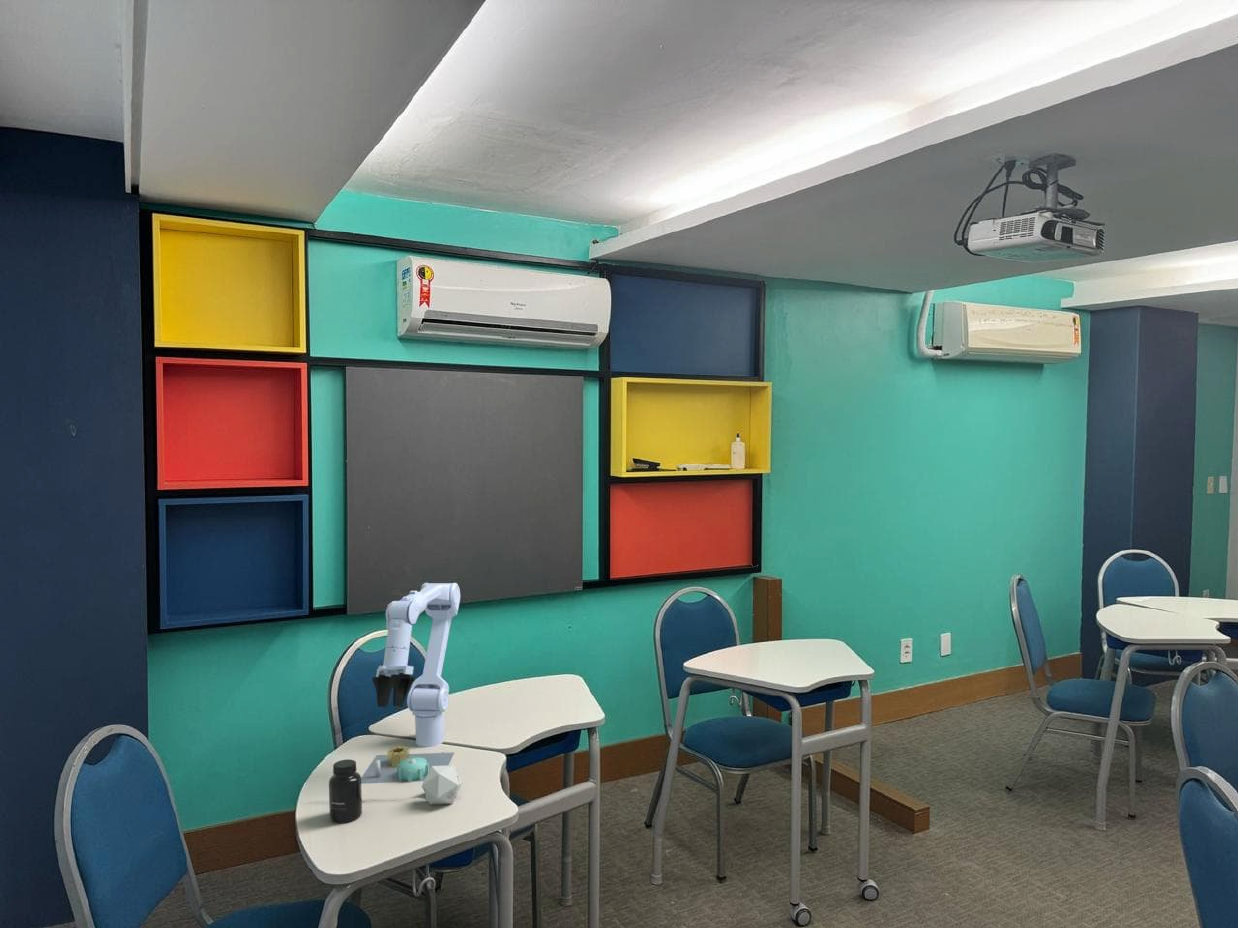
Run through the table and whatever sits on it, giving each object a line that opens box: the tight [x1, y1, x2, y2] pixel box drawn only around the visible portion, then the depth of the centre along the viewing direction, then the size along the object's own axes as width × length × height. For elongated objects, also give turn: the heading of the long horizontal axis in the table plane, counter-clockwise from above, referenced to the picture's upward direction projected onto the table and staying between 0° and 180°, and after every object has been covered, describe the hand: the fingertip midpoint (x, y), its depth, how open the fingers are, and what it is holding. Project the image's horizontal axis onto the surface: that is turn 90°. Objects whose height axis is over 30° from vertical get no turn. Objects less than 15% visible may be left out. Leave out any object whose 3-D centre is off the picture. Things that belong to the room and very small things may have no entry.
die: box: [421, 764, 463, 806], centre depth 190 cm, size 8×9×10 cm
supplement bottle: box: [328, 759, 363, 824], centre depth 183 cm, size 7×7×12 cm
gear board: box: [361, 751, 455, 784], centre depth 207 cm, size 17×20×5 cm
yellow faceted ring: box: [386, 745, 410, 767], centre depth 210 cm, size 5×5×3 cm
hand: (389, 706), depth 200 cm, fingers open, 7 cm apart
